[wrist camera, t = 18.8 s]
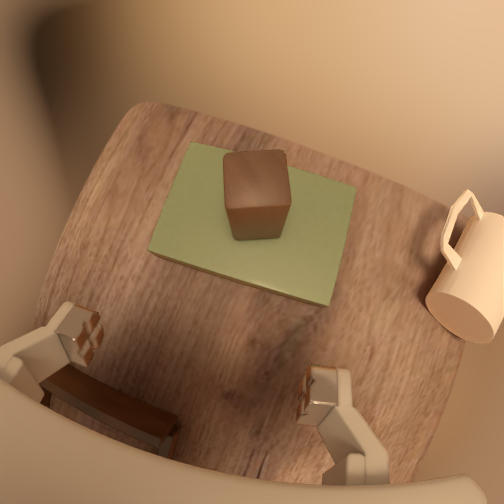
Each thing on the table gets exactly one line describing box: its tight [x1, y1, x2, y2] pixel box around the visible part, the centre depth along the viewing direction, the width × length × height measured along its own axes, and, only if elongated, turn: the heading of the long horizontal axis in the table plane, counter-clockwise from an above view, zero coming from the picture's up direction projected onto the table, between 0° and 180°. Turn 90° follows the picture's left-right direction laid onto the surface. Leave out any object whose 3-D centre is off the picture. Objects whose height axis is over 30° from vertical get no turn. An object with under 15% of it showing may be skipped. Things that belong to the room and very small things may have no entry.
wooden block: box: [223, 149, 292, 241], centre depth 22 cm, size 4×4×8 cm
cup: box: [425, 190, 504, 344], centre depth 23 cm, size 8×12×10 cm
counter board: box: [148, 142, 357, 307], centre depth 27 cm, size 16×11×3 cm
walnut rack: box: [38, 364, 181, 459], centre depth 22 cm, size 16×7×6 cm, turn 73°
